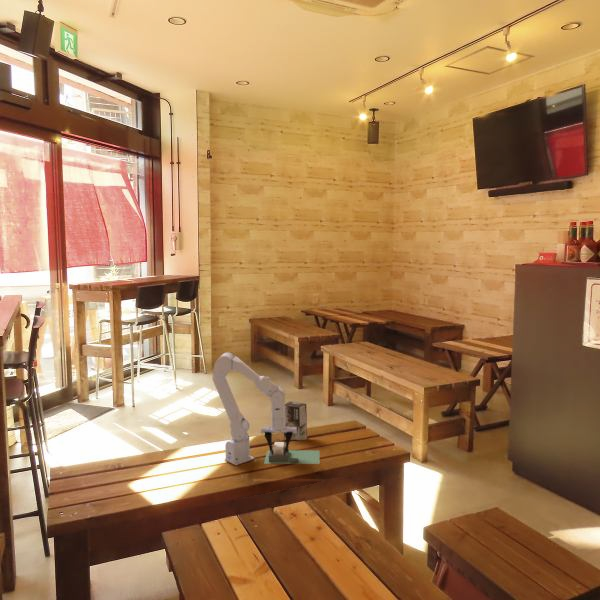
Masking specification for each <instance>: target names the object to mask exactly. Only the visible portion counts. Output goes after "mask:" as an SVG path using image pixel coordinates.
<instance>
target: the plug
mask: <svg viewBox="0 0 600 600" xmlns="http://www.w3.org/2000/svg"><path fill="white" fill-rule="evenodd" d="M272 446H273V455H284V454H285V447H284V446H285V441H275V442H274V443H273V445H272Z"/></svg>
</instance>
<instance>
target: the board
mask: <svg viewBox="0 0 600 600" xmlns="http://www.w3.org/2000/svg"><path fill="white" fill-rule="evenodd" d="M273 446H274V445H272V451H270V449H268V450H267V451H266V455H265V458H264V461H263V462H264V463H263V464H264V465H320V450H316V449H315V450H307V449H306V450H300V449H299V450H290V446H289V445H288V451H286V445H284V447H285V454H284V455H273Z"/></svg>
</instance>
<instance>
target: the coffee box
mask: <svg viewBox="0 0 600 600" xmlns="http://www.w3.org/2000/svg"><path fill="white" fill-rule="evenodd" d="M307 417H308V415H307V403H304V402H303V403H302V402H297V401H289V402H285V423H286V426H287V427H296V429H297V432H296V433H292V437H291V439H290V441H294V440H295V441H304V440H307V439H308V426H307V425H308V424H307V422H308V420H307V419H308V418H307ZM283 439H284V440H286V433H283Z"/></svg>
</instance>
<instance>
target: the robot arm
mask: <svg viewBox="0 0 600 600" xmlns="http://www.w3.org/2000/svg"><path fill="white" fill-rule="evenodd" d="M229 371H230V372H239V373H240V374H242V375H243V376H245V377H246V378H248V379H249V380H250V381H252V382H253V383H254V385H255V386H254V387H255V388H256V389H257V390H259V391H260V392H261V393H263V394H264V395H265V396H266V397H268V398H269V401H270V402H271V408H270V409H271V411H270V412H271V413H270V414H271V419H270V420H271V421H270V422H271V426H264V427H260V434H264V437H265V439H266V441H267V444H268V448H269V450H270V451H272V446H273V439H272V438H273V437H272V436H273V434H284V433H286V439H285V446H286V451H288V446H289V444H290V441H291V440H290V439H291V437H292V433H296V432H297V429H296V427H287V426H286V423H285V404H286V402H285V399H286V391H285V389H284V388H283V387H282V386H280V385H279V384H276V383H275V382H273V381H272V380H270V379H271V378H270V377H269V376H265V375H259V374H258V373H256V371H254V369H252V368H251V367H249V365H248V364H246V363H245V362H244V361H242V359H240V358H239V357H238V356H236V355H234V354H233V353H232V352H230V351H227V352H224V353H222V354H221V356H219V357H218V358H217V360H215V362H214V365H213V374H212V382H213V384H214V386H215V388H216V391H217V393H218V396H219V398H220V400H221V403H222V405H223V408H224V411H225V412H226V415H227V417H228V419H229V421H228V422H229V427H230V436H231V439H230V440H228V441H227V442H226V443H225V458H224V460H225V461H226V462H227V463H230V464H232V465H235V466H238V465H241V464H243V463H246V462H249V461H252V460H255V457H253V456H251V454H250V453H251V451H250V450H251V449H250V435H249V434H248V431H250V423H249V421H248V420H247V419H246V418H245V417H244V415H243V413H242V412H241V411H240V409H239V405H238V404H237V402H236V399H235V397H234V395H233V392H232V390H231V387H230V384H229V383H228V379H227V376H228V374H229Z"/></svg>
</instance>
